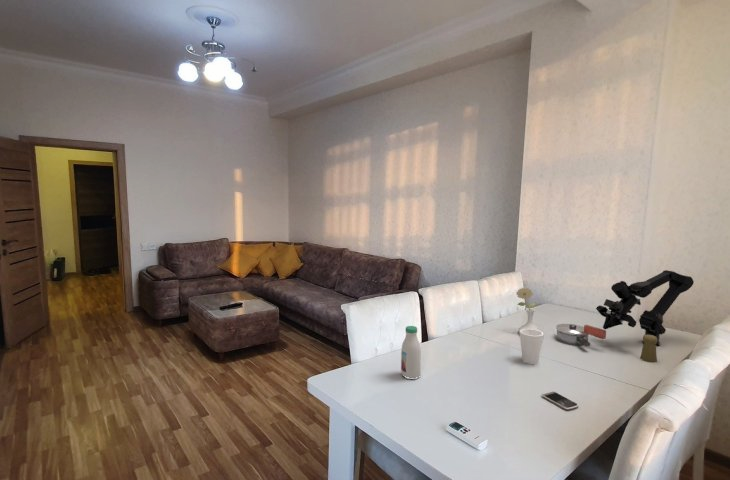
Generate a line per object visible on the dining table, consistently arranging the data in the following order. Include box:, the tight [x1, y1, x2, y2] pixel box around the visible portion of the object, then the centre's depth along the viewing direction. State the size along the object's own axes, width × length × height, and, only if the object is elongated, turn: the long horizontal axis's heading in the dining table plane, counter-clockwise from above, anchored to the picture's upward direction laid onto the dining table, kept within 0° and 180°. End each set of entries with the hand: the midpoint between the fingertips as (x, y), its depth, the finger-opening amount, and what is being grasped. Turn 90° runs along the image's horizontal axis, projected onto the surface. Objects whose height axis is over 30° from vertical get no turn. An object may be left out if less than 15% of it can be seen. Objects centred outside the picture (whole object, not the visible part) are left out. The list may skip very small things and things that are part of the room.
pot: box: [556, 329, 591, 348], centre depth 189 cm, size 24×14×5 cm, turn 176°
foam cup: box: [519, 329, 545, 365], centre depth 166 cm, size 10×9×13 cm
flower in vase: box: [515, 287, 541, 334], centre depth 199 cm, size 13×11×25 cm
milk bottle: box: [400, 325, 422, 378], centre depth 152 cm, size 8×8×20 cm
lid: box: [555, 323, 607, 340], centre depth 187 cm, size 23×15×5 cm, turn 26°
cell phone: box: [540, 391, 579, 412], centre depth 133 cm, size 6×11×1 cm, turn 24°
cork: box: [640, 334, 658, 363], centre depth 168 cm, size 6×6×11 cm
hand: (603, 328), depth 182 cm, fingers closed
